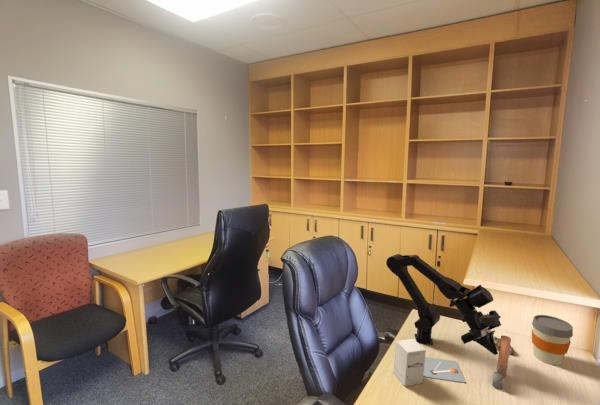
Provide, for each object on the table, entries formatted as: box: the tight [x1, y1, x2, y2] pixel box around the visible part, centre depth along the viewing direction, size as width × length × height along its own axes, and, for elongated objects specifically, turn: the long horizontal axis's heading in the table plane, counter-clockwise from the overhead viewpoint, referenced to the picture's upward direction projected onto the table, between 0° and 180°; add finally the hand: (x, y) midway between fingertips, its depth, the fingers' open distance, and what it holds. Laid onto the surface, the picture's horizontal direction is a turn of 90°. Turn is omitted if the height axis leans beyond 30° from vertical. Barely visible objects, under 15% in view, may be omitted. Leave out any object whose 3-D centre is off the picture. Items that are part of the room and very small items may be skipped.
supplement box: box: [392, 338, 427, 387], centre depth 113 cm, size 7×7×13 cm
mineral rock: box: [493, 335, 516, 356], centre depth 134 cm, size 11×4×8 cm
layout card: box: [423, 356, 467, 384], centre depth 119 cm, size 12×14×1 cm
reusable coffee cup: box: [531, 314, 574, 366], centre depth 127 cm, size 13×13×15 cm
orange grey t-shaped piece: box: [491, 335, 512, 390], centre depth 113 cm, size 11×3×14 cm, turn 139°
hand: (496, 354), depth 117 cm, fingers closed
